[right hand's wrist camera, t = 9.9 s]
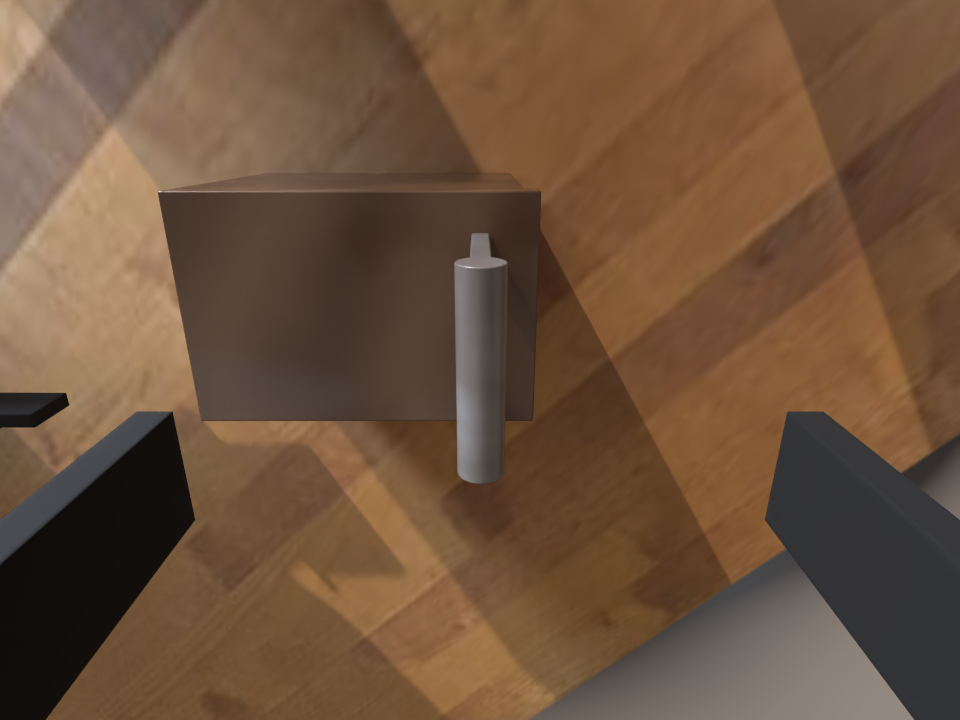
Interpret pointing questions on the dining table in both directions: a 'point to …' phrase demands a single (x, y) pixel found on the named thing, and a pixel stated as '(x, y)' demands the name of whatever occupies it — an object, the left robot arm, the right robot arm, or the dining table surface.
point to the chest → (366, 181)
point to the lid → (362, 307)
